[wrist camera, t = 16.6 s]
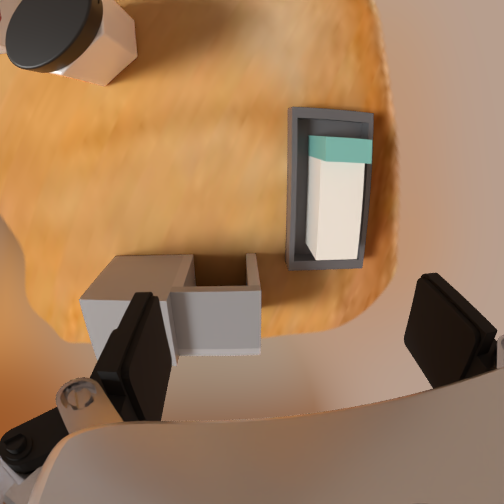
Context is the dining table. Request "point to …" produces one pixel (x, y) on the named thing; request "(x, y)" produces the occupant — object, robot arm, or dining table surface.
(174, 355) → the bay
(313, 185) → the teal-capped white block
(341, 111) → the tray
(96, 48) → the jar
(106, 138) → the dining table surface
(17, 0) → the supplement box
